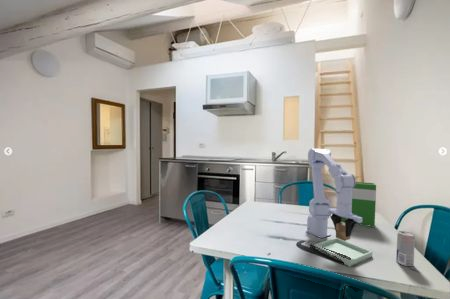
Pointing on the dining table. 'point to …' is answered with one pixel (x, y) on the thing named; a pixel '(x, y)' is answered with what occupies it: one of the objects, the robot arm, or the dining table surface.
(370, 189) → the hardback book
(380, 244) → the dining table surface
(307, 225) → the robot arm
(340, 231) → the walnut block
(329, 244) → the tray
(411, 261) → the energy drink
